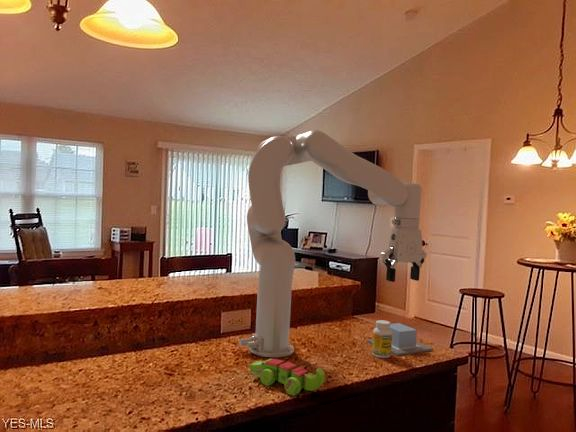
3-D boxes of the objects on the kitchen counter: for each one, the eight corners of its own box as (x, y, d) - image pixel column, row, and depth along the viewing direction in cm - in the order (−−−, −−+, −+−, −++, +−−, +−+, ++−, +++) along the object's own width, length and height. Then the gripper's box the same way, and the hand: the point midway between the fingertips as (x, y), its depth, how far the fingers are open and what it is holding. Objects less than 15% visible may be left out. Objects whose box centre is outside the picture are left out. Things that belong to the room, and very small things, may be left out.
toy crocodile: (244, 378, 115) (245, 353, 115) (262, 371, 121) (263, 347, 120) (311, 403, 103) (313, 375, 103) (328, 394, 108) (330, 367, 108)
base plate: (396, 355, 138) (397, 353, 138) (366, 341, 150) (366, 339, 150) (432, 350, 144) (432, 348, 144) (400, 337, 157) (400, 335, 156)
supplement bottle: (381, 351, 141) (383, 318, 141) (395, 356, 137) (397, 323, 136) (367, 353, 138) (369, 320, 138) (381, 359, 134) (383, 325, 133)
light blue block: (398, 348, 142) (399, 331, 142) (381, 340, 149) (382, 324, 149) (415, 346, 145) (416, 330, 145) (398, 338, 152) (399, 323, 152)
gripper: (393, 224, 138) (389, 284, 139) (436, 225, 146) (432, 281, 147) (376, 222, 144) (372, 279, 145) (418, 223, 153) (414, 277, 154)
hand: (402, 280), depth 146 cm, fingers open, 9 cm apart
